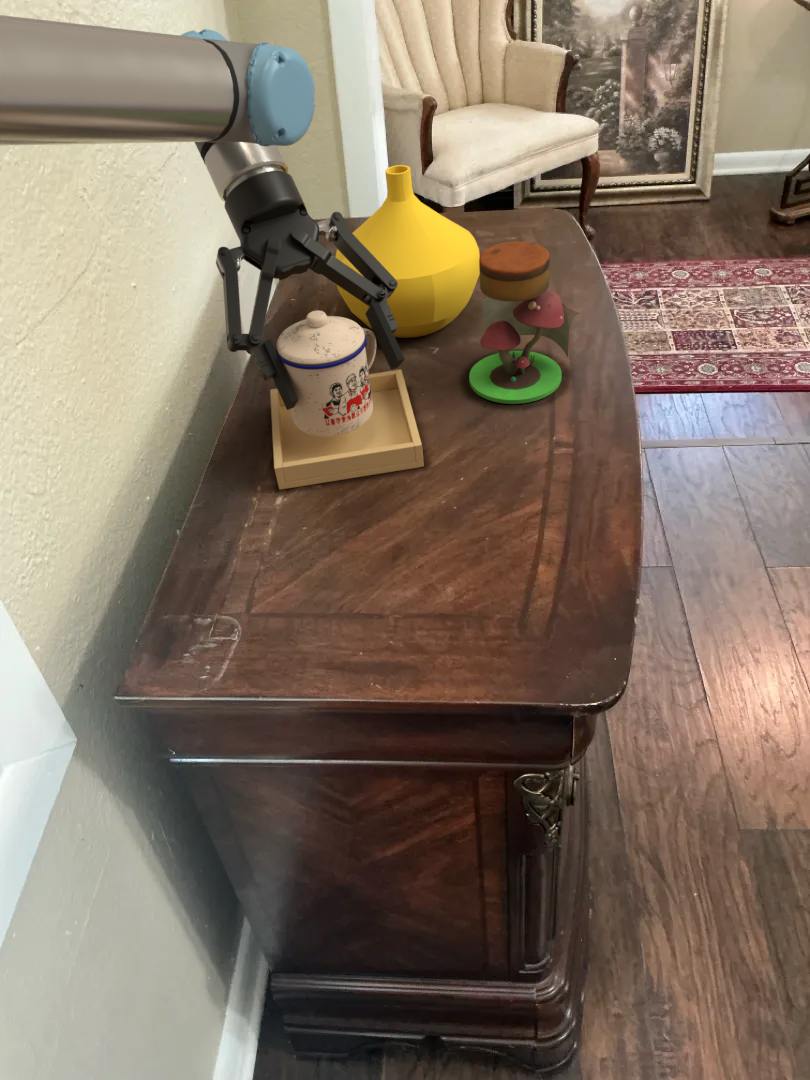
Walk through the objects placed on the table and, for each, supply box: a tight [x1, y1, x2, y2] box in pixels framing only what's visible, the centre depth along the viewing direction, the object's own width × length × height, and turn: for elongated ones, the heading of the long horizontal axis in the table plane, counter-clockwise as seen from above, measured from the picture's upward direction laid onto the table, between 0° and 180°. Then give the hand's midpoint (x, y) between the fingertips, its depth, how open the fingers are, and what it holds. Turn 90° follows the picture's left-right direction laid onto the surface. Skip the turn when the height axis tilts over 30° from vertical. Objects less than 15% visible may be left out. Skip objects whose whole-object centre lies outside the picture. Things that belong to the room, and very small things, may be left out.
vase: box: [334, 164, 481, 339], centre depth 106 cm, size 18×18×19 cm
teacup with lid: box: [275, 310, 377, 436], centre depth 88 cm, size 12×9×12 cm
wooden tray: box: [269, 369, 425, 491], centre depth 94 cm, size 15×15×3 cm
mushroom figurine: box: [468, 240, 580, 405], centre depth 95 cm, size 12×13×15 cm
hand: (346, 384), depth 87 cm, fingers closed on teacup with lid, 11 cm apart
